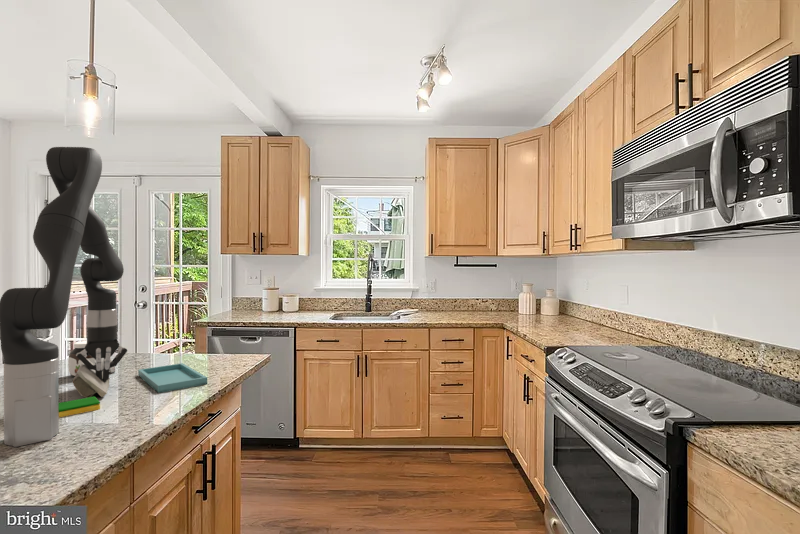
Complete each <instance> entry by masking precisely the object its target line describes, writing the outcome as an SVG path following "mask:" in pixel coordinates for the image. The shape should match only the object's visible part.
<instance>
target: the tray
mask: <svg viewBox="0 0 800 534" xmlns="http://www.w3.org/2000/svg"><path fill="white" fill-rule="evenodd" d="M137 371H138V373H137V374H138V375H137V376H138V377H139V376H140V377H141V380H143V381H144V382H145V383H146V384H147V385H148V386H150V387H151V388H152V389H153V390H154V391H156V393H158V394H161V393H166V392H172V391H177V390H182V389H188V388H192V387H193V388H194V387H199V386H205V385H208V376H206V375H204V374H203V373H200V372H199V371H197V370H195V369H193V368H192V367H191V366H189V365H187V364H185V363H182V362H181V363H175V364H168V365H166V364H165V365H160V366H153V367H148V368H146V367H145V368H140V369H139V368H138V370H137ZM140 377H139V378H140Z"/></svg>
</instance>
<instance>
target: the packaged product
mask: <svg viewBox="0 0 800 534" xmlns="http://www.w3.org/2000/svg"><path fill="white" fill-rule="evenodd" d="M87 360H88V359H87ZM88 361H89V360H88ZM89 362H90V363H91V364H92V365H94V364H93V363H92V362H91V361H89ZM110 378H111V377H109V379H108V380H107V381H106V382H103V372H102V380H100V379H99V377H97V376H96V374H95V370H90V369H89V368H88V367H87V366H86V365H85V364H84V363H83V362H82V363H81V365H80V367H79V369H78V371H77V373H76V375H75V377H74V378H73V380H72V385H73V386H74V389H75V390H77V392H78V394H79V395H80V396H81V397H83V398H88V397H93V396H94V395H95V394H98V395H99V396H100V397H101V398H103V399H104V397H105V396H106V395H107V393H108V391H109V387H110V380H111V379H110Z"/></svg>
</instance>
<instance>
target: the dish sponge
mask: <svg viewBox="0 0 800 534" xmlns="http://www.w3.org/2000/svg"><path fill="white" fill-rule="evenodd" d="M98 409H99V410H100V409H101V401H99V399H98V398H97V397H96V396H91V397H88V398H86V397H83V398H79V399H72V400H68V401H67V400H66V401H61V402H59V418H63V417H68V416H73V415H78V414H83V413H87V412H88V413H89V412H93V411H94V412H95V411H98Z"/></svg>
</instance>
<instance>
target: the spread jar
mask: <svg viewBox="0 0 800 534" xmlns="http://www.w3.org/2000/svg"><path fill="white" fill-rule="evenodd" d="M86 344H87V340H81V341H76V342H74V343H73V348H74V349H72V350H71V351H70V352H69V354H68V359H67V360H68V364H67V365H68V373H69V375H70V376H71V377H72V378H73V379H74V377H75V375H76V373H77V371H78V369H79V367H80V365H81V363H82V361H81V360H80V359H79V358H78V357H77V356H76V354H77V353H80V352H81V351H83V350H84V349H85V346H86ZM86 354H87V357H86V359H88V360H89V361H91V362H92V363H93V364H94V365H95V359H94V358H93V357H92V356H91V355H90V354H89V353H88V352H87V353H86ZM112 360H113V359H112V358H111V357H110V362H112ZM103 366H104V358H101V370H102V372H103V369H104V367H103ZM115 372H116V366H115V367H111V368H110V369H109V374H112V373H113V374H114V373H115Z"/></svg>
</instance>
